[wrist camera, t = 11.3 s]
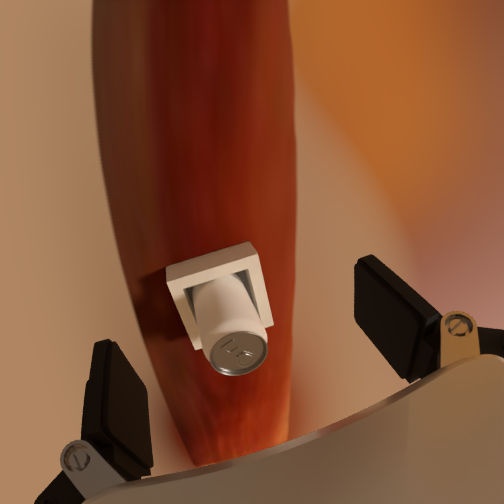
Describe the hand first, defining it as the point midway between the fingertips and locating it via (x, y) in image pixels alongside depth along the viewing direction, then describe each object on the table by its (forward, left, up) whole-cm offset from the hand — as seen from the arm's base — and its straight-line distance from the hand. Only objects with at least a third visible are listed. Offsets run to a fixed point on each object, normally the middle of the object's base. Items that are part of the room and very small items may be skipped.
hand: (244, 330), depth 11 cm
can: (+13, 0, -25) cm, 28 cm away
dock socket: (+14, 0, -25) cm, 29 cm away
